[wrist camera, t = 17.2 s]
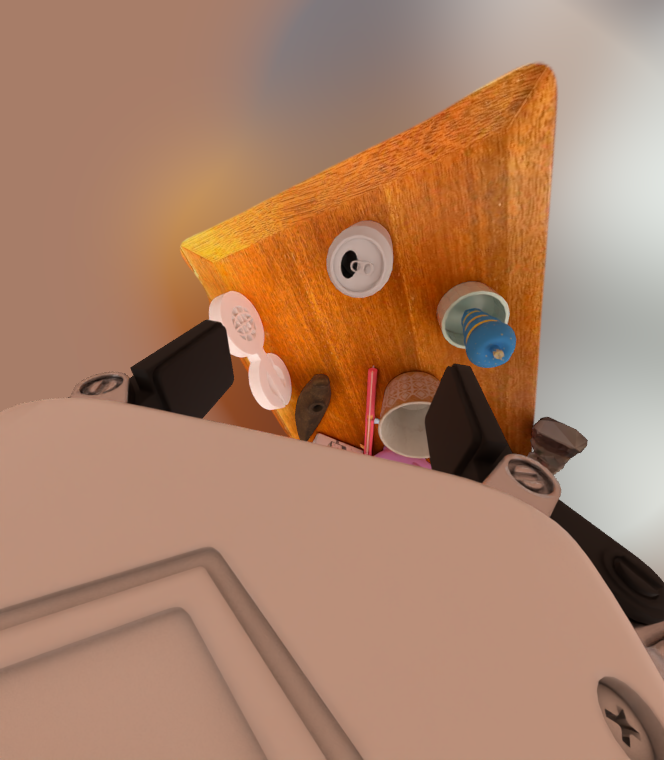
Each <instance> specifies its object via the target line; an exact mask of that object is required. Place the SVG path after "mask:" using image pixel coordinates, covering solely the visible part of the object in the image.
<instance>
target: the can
mask: <svg viewBox="0 0 664 760" xmlns="http://www.w3.org/2000/svg"><path fill="white" fill-rule="evenodd" d="M392 266H393V246H392V241H391V237H390V235H389V233H388V232H387V230H386V229H385V228H384V227H383V226H382V225H381V224H379V223H377V222H374V221H361V222H358V223H356V224H354V225H352V226H350V227H349V228H347V229H345V230H344V231H343V232H341V233H340V234H339V235H338V236H337V237H336V238H335V239H334V241H333V242H332V244H331V246H330V248H329V251H328V255H327V271H328V274H329V277H330V280H331V281H332V283H333V284H334V286H335V287H336V288H337V289H338V290H339V291H341V292H342V293H343V294H345V295H348V296H351V297H359V298H363V297H367V296H370V295H373V294H374V293H376V292H377V291H379V290H380V289H381V288H382V287H383V286H384V285H385V283H386V282H387V281H388V279H389V277H390V274H391V271H392Z"/></svg>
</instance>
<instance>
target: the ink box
mask: <svg viewBox="0 0 664 760" xmlns="http://www.w3.org/2000/svg"><path fill="white" fill-rule="evenodd" d="M313 443H317V444H321V445H326V446H330V447H335V448H339V449H344V450H348V451H353V452H357V453H361V454H363V450H360V449H358V448H355V447H353V446H350V445H348V444H345V443H343V442H340V441H338V440H335V439H333V438H330V437H328V436H325V435H323V434H320V433H318V434H317V435H316V437H315V439H314V441H313Z"/></svg>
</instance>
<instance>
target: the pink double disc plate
mask: <svg viewBox="0 0 664 760" xmlns="http://www.w3.org/2000/svg"><path fill="white" fill-rule="evenodd" d="M209 320H212V321H218V322H221V323H222V325H223V326H225V328H226V330H227V337H228V343H229V349H230V354H232V355H234V356H237V357H246V356H247V358H248V359H249V361H250V362H251V364H250V367H249V384H250V388H251V391H252V393H253V396H254V397H255V399H256V400H257V402H258V403H259V404H260V405H261V406H262V407H263V408H265V409H268V410H273V409H278V408H283V407H285V405H287V404H288V403H289V401H290V398H291V392H292V386H291V379H290V375H289V372H288V370H287V368H286V366H285V364H284V362H283V361H282V360H281V359H280V358H279V357H278V356H277V355H275V354H273V353H267V354H266V353H265V351H264V349H263V344H264V329H263V325H262V322H261V319H260V316H259V314H258V312H257V311H256V309H255V307H254V306H253V305H252V303H251V302H250V301H249V300H248V299H247V298H246V297H245V296H244V295H242V294H240V293H238V292H235V291H230V292H227V293H225V294H222V295H220V296H217V297H216V298H214V299H213V300H212V302H211V304H210V307H209Z"/></svg>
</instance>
